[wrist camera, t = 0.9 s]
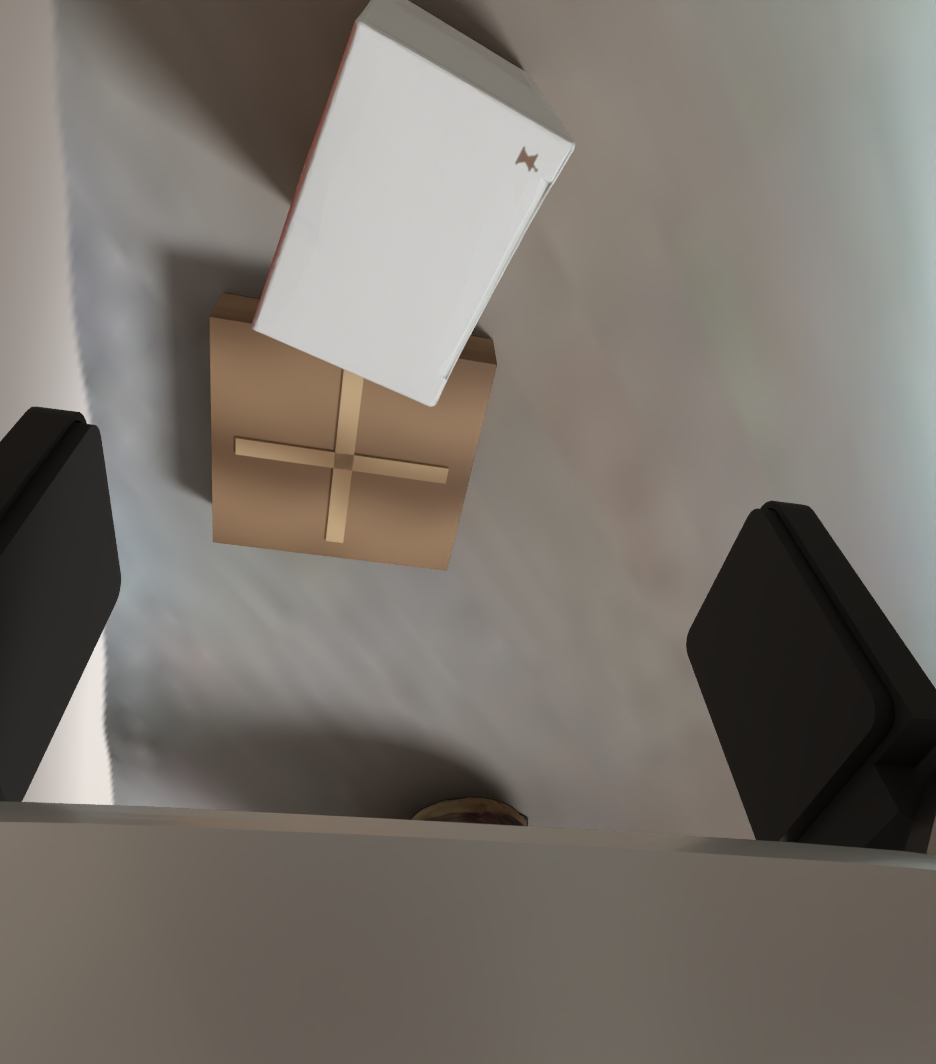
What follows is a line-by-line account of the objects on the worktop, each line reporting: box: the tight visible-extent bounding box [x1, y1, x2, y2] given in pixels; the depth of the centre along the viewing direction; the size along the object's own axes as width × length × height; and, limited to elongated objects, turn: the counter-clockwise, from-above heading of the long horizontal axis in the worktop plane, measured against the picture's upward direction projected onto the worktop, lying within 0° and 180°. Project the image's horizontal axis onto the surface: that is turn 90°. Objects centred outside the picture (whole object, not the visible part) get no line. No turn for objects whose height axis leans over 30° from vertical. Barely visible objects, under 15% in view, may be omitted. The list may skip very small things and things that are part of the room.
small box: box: [251, 0, 575, 407], centre depth 22 cm, size 8×6×10 cm
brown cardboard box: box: [209, 293, 497, 571], centre depth 33 cm, size 11×11×2 cm
